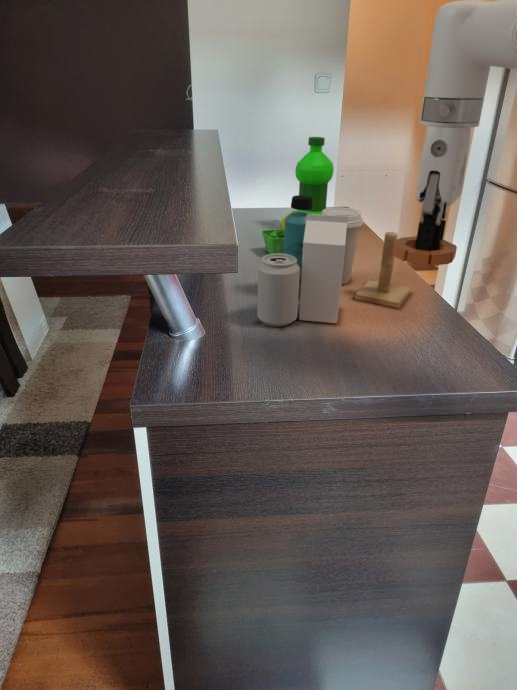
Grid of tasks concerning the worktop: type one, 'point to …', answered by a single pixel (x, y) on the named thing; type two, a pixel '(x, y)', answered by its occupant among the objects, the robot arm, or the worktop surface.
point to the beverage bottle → (296, 229)
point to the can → (278, 289)
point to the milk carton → (322, 267)
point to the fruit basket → (275, 238)
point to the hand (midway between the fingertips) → (428, 247)
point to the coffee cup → (348, 236)
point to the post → (384, 280)
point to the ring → (423, 252)
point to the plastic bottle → (315, 175)
